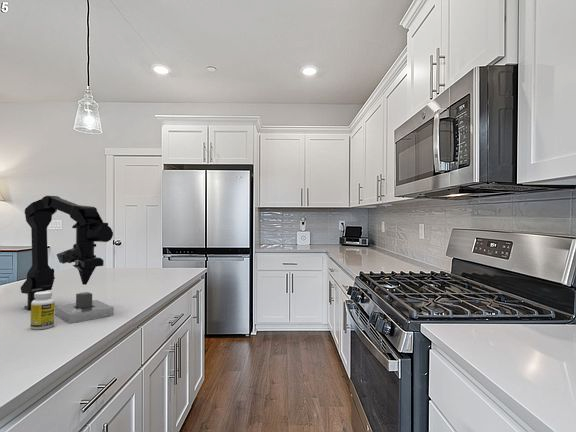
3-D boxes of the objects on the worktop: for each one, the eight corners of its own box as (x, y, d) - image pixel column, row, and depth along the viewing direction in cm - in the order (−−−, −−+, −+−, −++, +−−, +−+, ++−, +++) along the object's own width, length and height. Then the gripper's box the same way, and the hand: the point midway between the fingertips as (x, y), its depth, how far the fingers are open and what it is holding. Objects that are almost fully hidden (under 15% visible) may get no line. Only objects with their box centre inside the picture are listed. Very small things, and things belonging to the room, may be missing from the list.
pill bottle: (42, 330, 109) (42, 295, 109) (25, 329, 111) (26, 293, 111) (58, 325, 115) (59, 291, 116) (42, 323, 117) (43, 290, 117)
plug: (88, 311, 130) (88, 291, 130) (92, 313, 128) (92, 293, 128) (75, 313, 127) (76, 292, 127) (79, 315, 125) (80, 294, 125)
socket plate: (54, 314, 128) (55, 303, 128) (96, 307, 138) (96, 297, 138) (69, 323, 117) (69, 312, 117) (113, 315, 127) (113, 304, 127)
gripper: (51, 240, 128) (50, 283, 128) (68, 243, 115) (67, 291, 115) (85, 239, 136) (84, 280, 136) (104, 242, 124) (103, 286, 123)
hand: (84, 284), depth 127 cm, fingers closed
